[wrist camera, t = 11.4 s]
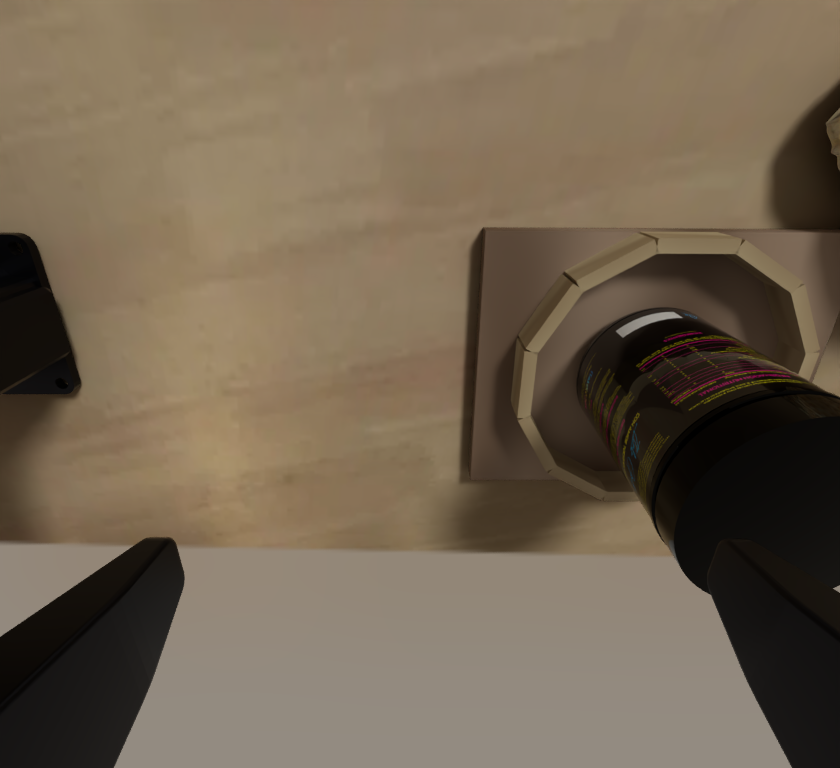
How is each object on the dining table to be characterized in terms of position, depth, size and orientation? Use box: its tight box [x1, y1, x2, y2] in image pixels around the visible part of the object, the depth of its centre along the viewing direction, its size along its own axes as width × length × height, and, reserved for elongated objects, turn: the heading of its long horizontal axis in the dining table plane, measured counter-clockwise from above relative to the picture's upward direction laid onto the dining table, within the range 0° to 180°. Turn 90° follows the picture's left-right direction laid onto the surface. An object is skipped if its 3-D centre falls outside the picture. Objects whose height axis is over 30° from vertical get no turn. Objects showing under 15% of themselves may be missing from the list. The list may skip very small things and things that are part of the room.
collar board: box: [469, 228, 840, 501], centre depth 20 cm, size 14×11×2 cm
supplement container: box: [576, 307, 840, 595], centre depth 16 cm, size 6×6×9 cm
